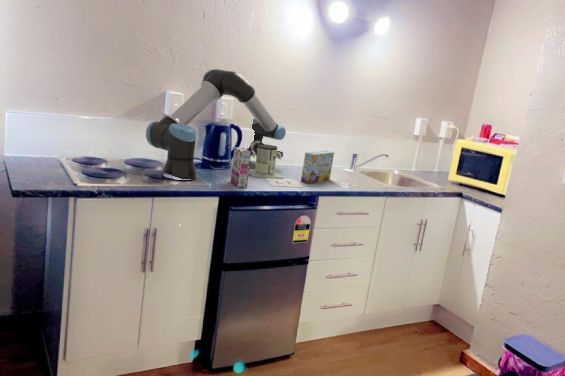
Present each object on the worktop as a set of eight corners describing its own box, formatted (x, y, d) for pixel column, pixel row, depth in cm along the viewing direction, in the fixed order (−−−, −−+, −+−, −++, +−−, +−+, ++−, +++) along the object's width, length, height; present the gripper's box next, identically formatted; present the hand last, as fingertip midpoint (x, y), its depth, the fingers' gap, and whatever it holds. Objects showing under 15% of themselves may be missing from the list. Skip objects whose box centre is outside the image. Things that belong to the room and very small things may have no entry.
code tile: (271, 185, 228) (271, 185, 228) (264, 178, 243) (264, 177, 243) (304, 187, 232) (304, 187, 232) (295, 179, 247) (295, 179, 247)
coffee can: (256, 169, 257) (259, 143, 254) (275, 172, 256) (278, 146, 253) (252, 173, 247) (255, 145, 244) (272, 176, 246) (276, 148, 243)
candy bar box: (247, 188, 217) (251, 151, 214) (236, 187, 216) (240, 151, 212) (240, 182, 228) (244, 147, 224) (230, 181, 226) (233, 146, 222)
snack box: (309, 184, 242) (313, 154, 238) (300, 181, 245) (304, 152, 241) (330, 179, 259) (334, 151, 256) (321, 177, 262) (325, 149, 259)
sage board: (252, 176, 242) (252, 175, 242) (246, 169, 257) (246, 168, 257) (283, 178, 247) (283, 177, 246) (275, 171, 261) (275, 170, 261)
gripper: (280, 157, 272) (290, 164, 253) (235, 153, 266) (242, 161, 246) (281, 143, 271) (292, 150, 251) (237, 140, 264) (244, 146, 244)
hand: (267, 156), depth 248 cm, fingers open, 13 cm apart
